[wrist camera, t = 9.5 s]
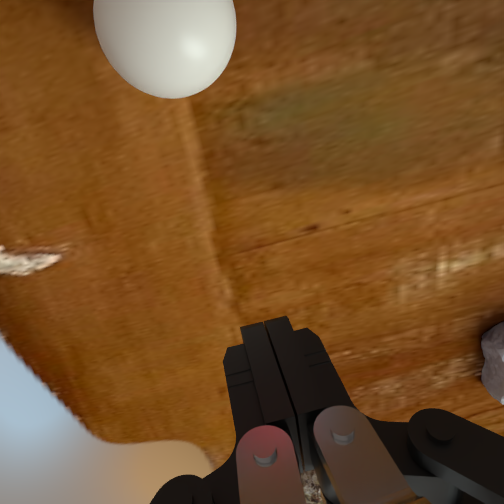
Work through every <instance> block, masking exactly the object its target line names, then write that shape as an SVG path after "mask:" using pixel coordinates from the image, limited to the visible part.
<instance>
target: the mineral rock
mask: <svg viewBox="0 0 504 504" xmlns="http://www.w3.org/2000/svg"><path fill="white" fill-rule="evenodd" d="M302 468H303V473H301V480H302V486H303V491H304V495H305V500H306V504H324V503H323V501H322V498H321V491H320V484H319V481H318V479H317V476H316V473H315V470H314V469H313V470H310V471H305V468H304V466H303V467H302Z"/></svg>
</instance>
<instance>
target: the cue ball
mask: <svg viewBox="0 0 504 504" xmlns="http://www.w3.org/2000/svg"><path fill="white" fill-rule="evenodd" d="M93 16H94V25H95V30H96V34H97V37H98V40H99V43H100V46H101V48H102V50H103V52H104V54H105V56H106V58H107V59H108V61H109V62H110V64H111V65H112V67H113V68H114V69H115V70H116V71H117V72H118V73H119V75H120V76H121V77H122V78H123V79H125V80H126V81H127V82H128V83H129V84H131V85H132V86H134V87H135V88H137V89H139V90H140V91H143V92H145V93H147V94H150V95H153V96H156V97H161V98H172V99H174V98H183V97H187V96H191V95H193V94H196V93H198V92H200V91H202V90H204V89H205V88H207V87H208V86H210V85H211V84H212V83H213V82H214V81H215V80H216V79H217V78H218V77H219V76H220V75H221V73H222V72H223V70H224V69H225V67H226V65H227V63H228V61H229V59H230V57H231V54H232V51H233V48H234V43H235V38H236V14H235V9H234V4H233V0H94V5H93Z"/></svg>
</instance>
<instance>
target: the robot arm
mask: <svg viewBox="0 0 504 504" xmlns="http://www.w3.org/2000/svg"><path fill="white" fill-rule="evenodd" d="M264 326H265V327H264ZM240 329H241V334H242V339H243V343H244V344H240V345H236V346H232V347H228V348H227V351H226V354H225V357H224V360H223V365H224V370H225V376H226V381H227V387H228V392H229V398H230V403H231V409H232V414H233V420H234V425H235V431H236V444H235V447H234V450H233V452H232V454H231V456H230V457H229V459H228V460H227V461H226V462H225V463H224V464H223V465H222V466H221V467H219V468H218V469H217V470H215V471H214V472H212V473H211V474H209V475H207V476H206V477H205V478H203V479H202V478H200V477H198V476H195V475H181V476H178V477H175V478H173V479H171V480H169V481H168V482H167V483H165V484H164V485H163V486H162V488H160V489H159V491H158V492H157V493H156V495H155V496H154V498H153V499H152V501H151V503H150V504H306V500H305V495H304V491H303V486H302V480H301V473H303V468H302V462H303V465H304V468H305V471H310V470H313V469H314V470H315V473H316V476H317V479H318V481H319V484H320V491H321V498H322V501H323V503H324V504H504V437H503V436H501V435H498V434H496V433H494V432H492V431H490V430H488V429H485V428H483V427H481V426H479V425H477V424H474V423H472V422H470V421H468V420H466V419H464V418H461V417H459V416H457V415H455V414H453V413H450V412H448V411H445V410H441V409H435V408H429V409H423V410H420V411H418V412H417V413H415V414H414V415H413V416H412V417H411V419H410V421H409V422H386V421H379V420H375V419H372V418H370V417H368V416H366V415H364V414H363V413H361V412H360V411H359V410H358V409H357V408H356V407H355V406H354V404H353V403H352V401H351V399H350V397H349V395H348V393H347V391H346V389H345V387H344V385H343V383H342V381H341V379H340V378H339V376H338V374H337V372H336V370H335V368H334V366H333V364H332V363H331V360H330V358H329V356H328V354H327V352H326V350H325V348H324V346H323V344H322V342H321V340H320V338H319V337H318V336H317V335H316V334H314V333H313V332H312V331H311V330H309V329H308V328H304V329H300V330H296V331H293V328H292V326H291V324H290V321H289V319H288V317H287V316H283V317H279V318H275V319H271V320H266V321H264V324H263V322H259V323H255V324H251V325H247V326H243V327H240ZM301 459H302V461H301Z"/></svg>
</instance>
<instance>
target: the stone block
mask: <svg viewBox="0 0 504 504" xmlns="http://www.w3.org/2000/svg"><path fill="white" fill-rule="evenodd" d="M481 346H482V347H481V348H482V350H483V355H484V357H485V363H484V367H483V369H482V377H481V380H482V382H483V384H484V386H485V387H486V389H487V390H488V392H489V393H490V395H491V396H492V397H493V398H495V399H497V400H498V401H499V402H500V403H502V404H504V322H501V323H499V324H498V325H496V326H494V327H493V328H492V329H491V330H489V331H487V332H485V333H484V334H483V336H482V341H481Z"/></svg>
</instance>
